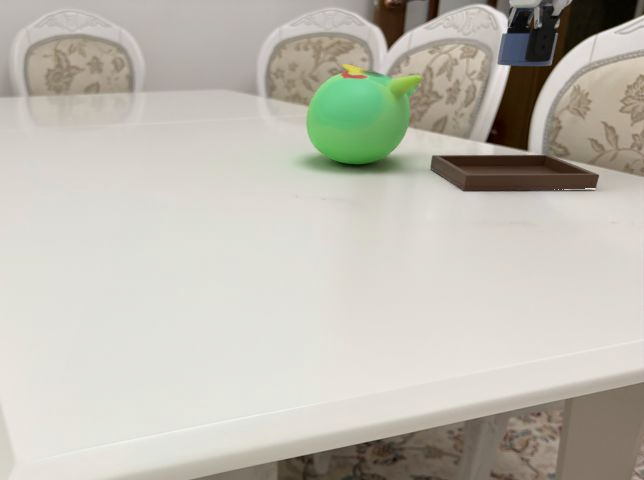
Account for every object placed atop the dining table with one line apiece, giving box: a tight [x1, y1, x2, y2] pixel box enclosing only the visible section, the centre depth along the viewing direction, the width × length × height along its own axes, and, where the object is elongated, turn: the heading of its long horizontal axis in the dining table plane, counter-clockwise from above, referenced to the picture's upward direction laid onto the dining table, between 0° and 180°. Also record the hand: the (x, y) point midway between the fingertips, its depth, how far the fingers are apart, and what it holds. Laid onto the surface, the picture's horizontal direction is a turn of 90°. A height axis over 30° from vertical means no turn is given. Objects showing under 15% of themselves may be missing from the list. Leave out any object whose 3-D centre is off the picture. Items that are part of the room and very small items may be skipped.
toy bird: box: [305, 63, 423, 165], centre depth 107 cm, size 18×17×15 cm
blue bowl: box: [496, 32, 559, 67], centre depth 95 cm, size 7×7×4 cm
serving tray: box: [429, 154, 600, 192], centre depth 98 cm, size 18×15×2 cm
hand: (525, 58), depth 96 cm, fingers closed on blue bowl, 7 cm apart
